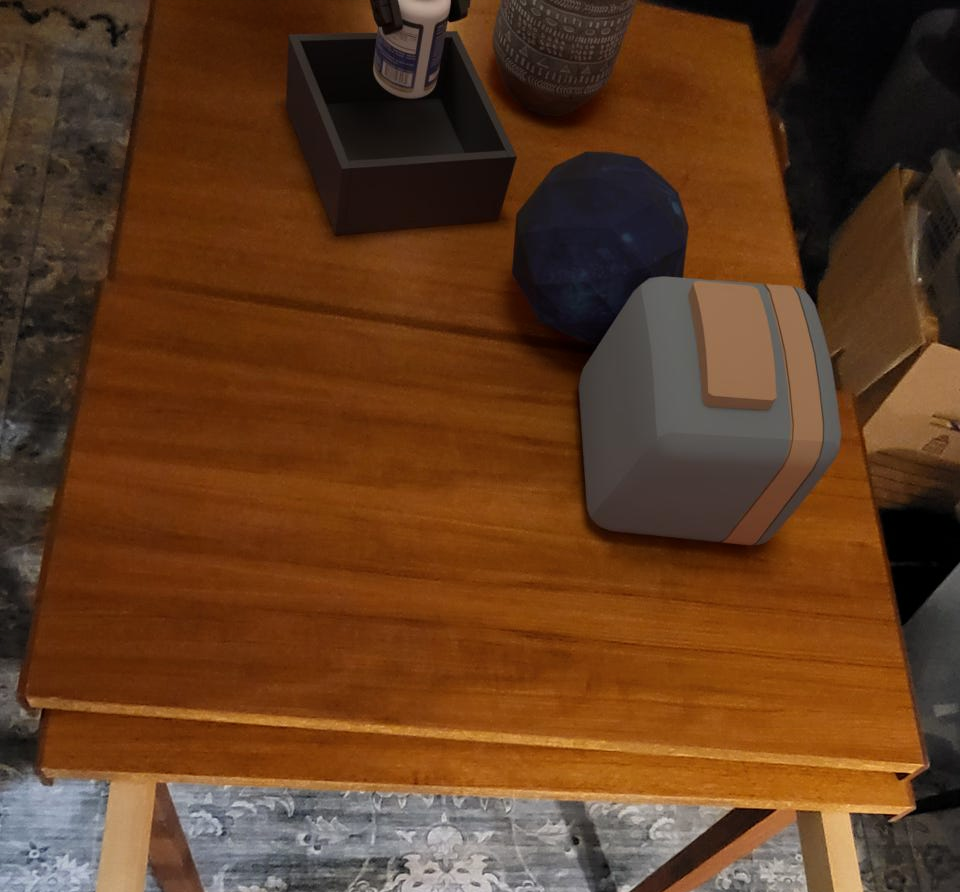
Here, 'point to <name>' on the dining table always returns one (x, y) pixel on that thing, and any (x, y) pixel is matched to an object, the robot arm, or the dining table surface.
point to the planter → (558, 49)
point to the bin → (395, 138)
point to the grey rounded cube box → (708, 411)
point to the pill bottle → (412, 49)
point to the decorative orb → (596, 240)
